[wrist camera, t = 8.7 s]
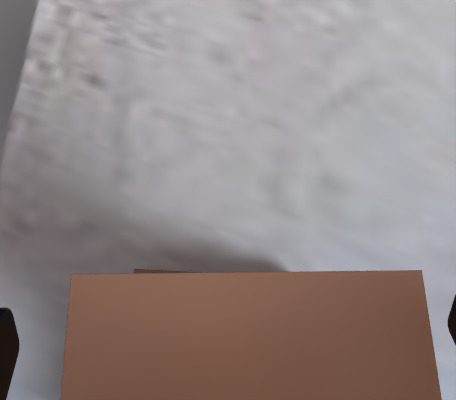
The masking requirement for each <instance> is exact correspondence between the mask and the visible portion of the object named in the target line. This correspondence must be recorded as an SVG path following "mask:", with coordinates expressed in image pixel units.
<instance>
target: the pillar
mask: <svg viewBox="0 0 456 400" xmlns="http://www.w3.org/2000/svg"><path fill="white" fill-rule="evenodd" d="M61 400H442V399H441V392H440V386H439V379H438V373H437V366H436V360H435V353H434V347H433V340H432V334H431V327H430V321H429V314H428V308H427V301H426V295H425V288H424V282H423V275H422V270H408V271H320V272H233V273H146V274H71V284H70V295H69V307H68V318H67V330H66V342H65V353H64V365H63V376H62V388H61Z"/></svg>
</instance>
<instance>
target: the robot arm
mask: <svg viewBox="0 0 456 400" xmlns="http://www.w3.org/2000/svg"><path fill="white" fill-rule="evenodd" d="M448 328H449V332H450V334H451V336H452V338H453V340H454V343H455V345H456V295H455V298H454V301H453V304H452V308H451V311H450V314H449V317H448ZM18 353H19V338H18V334H17V330H16V325H15V321H14V317H13V314H12V311H11V310H10V309H9V308H0V400H6V398H7V394H8V391H9V387H10V383H11V379H12V375H13V372H14V368H15V364H16V360H17V357H18Z"/></svg>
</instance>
